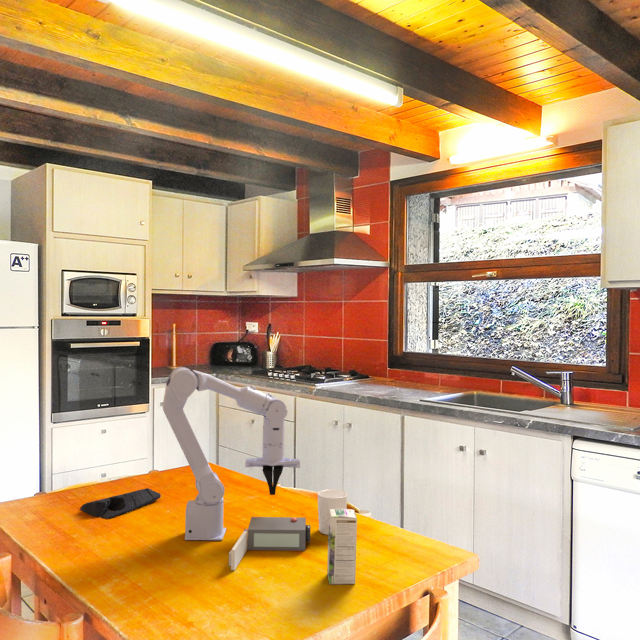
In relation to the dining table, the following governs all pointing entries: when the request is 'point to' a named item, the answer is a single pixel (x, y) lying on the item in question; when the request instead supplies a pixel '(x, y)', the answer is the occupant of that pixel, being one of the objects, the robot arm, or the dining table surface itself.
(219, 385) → the robot arm
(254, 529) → the camera housing
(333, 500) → the white cup
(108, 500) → the folded black cloth
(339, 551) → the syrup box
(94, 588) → the dining table surface
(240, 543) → the side door
